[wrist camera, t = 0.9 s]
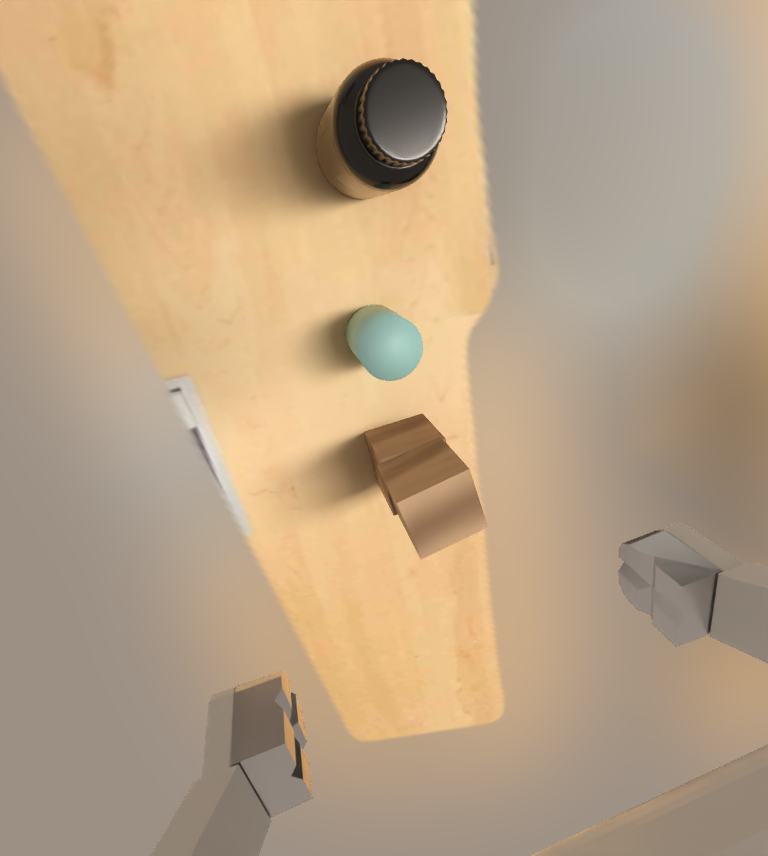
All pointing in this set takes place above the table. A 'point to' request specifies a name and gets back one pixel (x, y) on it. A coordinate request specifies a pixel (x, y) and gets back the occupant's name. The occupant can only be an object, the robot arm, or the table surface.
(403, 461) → the tower top
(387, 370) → the teal rounded cylinder
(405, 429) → the tower base
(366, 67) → the supplement bottle
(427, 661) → the table surface
